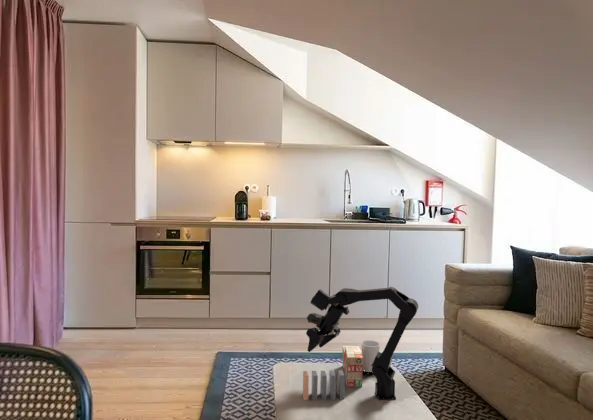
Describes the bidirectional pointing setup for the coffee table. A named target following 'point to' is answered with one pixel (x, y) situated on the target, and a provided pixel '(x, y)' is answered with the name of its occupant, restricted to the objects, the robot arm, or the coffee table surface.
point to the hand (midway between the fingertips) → (314, 349)
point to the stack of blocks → (353, 365)
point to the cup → (369, 353)
